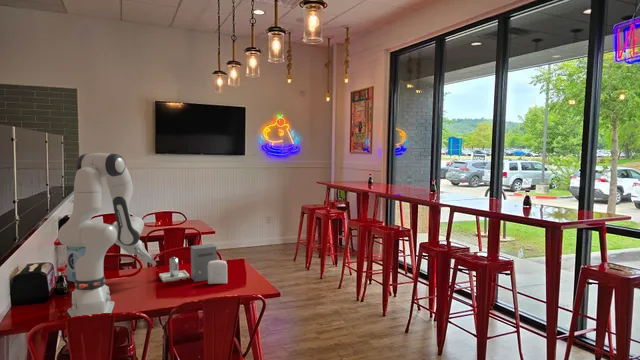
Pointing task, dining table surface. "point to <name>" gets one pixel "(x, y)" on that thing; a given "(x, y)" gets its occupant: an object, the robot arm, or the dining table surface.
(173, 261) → the cartridge
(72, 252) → the gum box
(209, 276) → the photo printer
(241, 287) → the dining table surface
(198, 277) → the box
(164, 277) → the tray
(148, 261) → the robot arm
